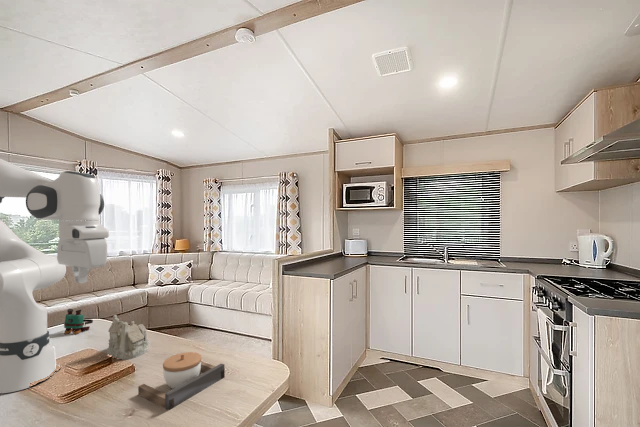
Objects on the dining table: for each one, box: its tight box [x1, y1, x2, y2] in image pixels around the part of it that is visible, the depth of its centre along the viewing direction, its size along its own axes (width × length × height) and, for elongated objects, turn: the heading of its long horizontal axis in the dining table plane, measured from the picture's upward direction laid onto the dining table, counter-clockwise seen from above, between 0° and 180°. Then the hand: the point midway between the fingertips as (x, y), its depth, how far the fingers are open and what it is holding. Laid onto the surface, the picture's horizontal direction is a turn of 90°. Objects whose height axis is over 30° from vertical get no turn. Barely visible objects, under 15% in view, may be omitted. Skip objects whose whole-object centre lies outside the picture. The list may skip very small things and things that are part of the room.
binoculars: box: [63, 308, 94, 335], centre depth 141 cm, size 9×11×10 cm
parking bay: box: [137, 360, 226, 411], centre depth 92 cm, size 14×19×4 cm
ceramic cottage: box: [106, 314, 151, 361], centre depth 119 cm, size 16×16×15 cm
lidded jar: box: [162, 351, 202, 390], centre depth 93 cm, size 11×11×9 cm
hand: (80, 282), depth 82 cm, fingers closed
